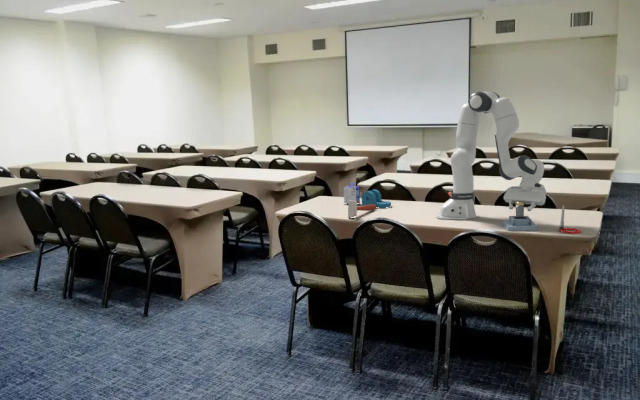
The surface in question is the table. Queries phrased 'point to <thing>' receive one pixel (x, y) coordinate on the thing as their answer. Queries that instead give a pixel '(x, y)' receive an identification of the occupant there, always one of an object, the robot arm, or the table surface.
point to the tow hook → (564, 230)
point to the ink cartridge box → (351, 193)
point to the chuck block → (520, 224)
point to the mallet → (358, 208)
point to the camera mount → (374, 199)
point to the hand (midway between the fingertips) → (519, 209)
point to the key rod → (519, 210)
